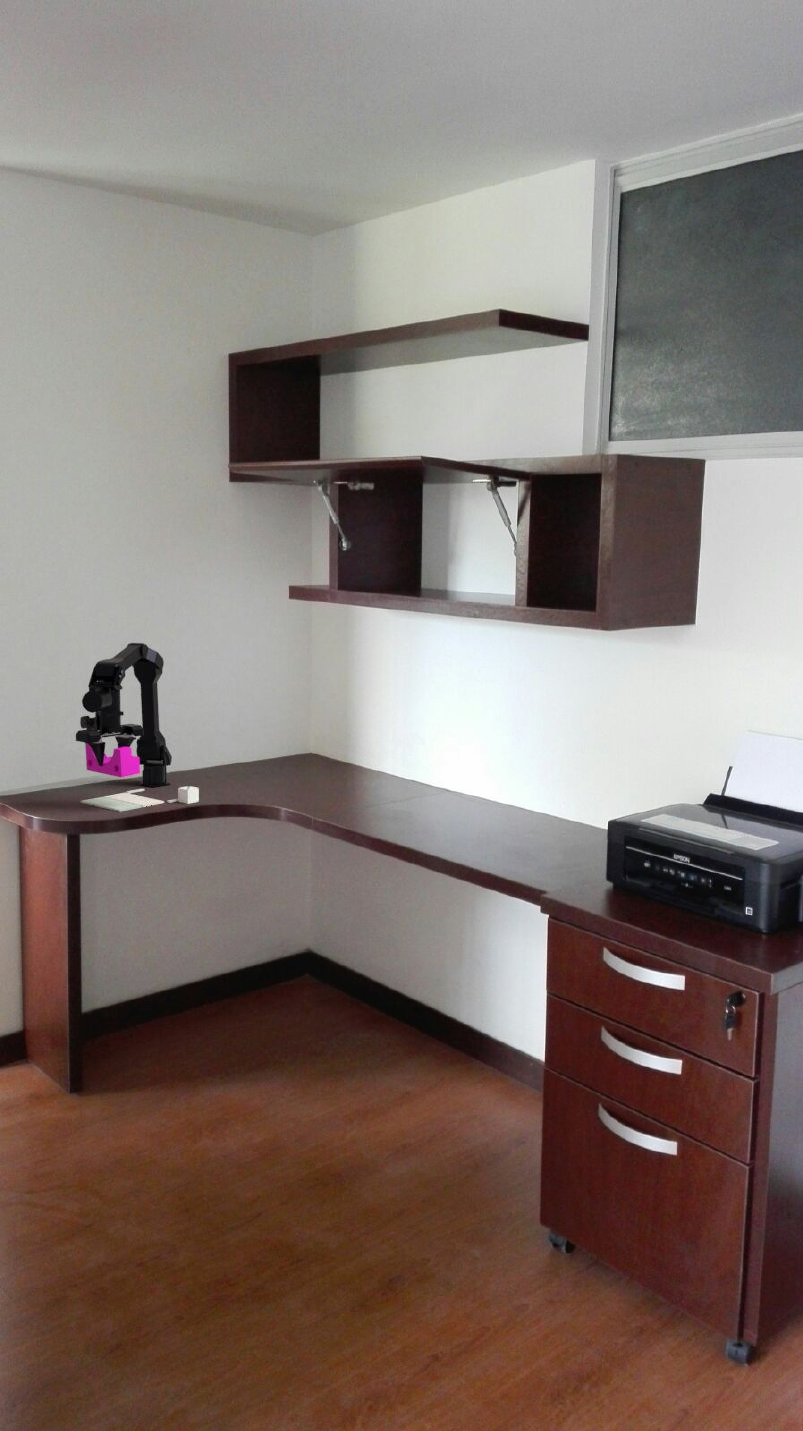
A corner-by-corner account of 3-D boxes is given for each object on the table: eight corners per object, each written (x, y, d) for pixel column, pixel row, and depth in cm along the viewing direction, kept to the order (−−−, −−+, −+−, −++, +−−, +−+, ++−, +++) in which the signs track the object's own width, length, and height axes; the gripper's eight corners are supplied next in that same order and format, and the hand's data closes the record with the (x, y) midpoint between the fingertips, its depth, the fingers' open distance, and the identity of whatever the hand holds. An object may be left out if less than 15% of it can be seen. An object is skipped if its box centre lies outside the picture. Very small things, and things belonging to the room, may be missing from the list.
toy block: (140, 773, 321) (138, 746, 320) (121, 777, 316) (120, 750, 315) (105, 765, 330) (103, 739, 329) (86, 770, 325) (85, 743, 324)
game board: (142, 790, 345) (142, 788, 345) (186, 799, 334) (186, 797, 333) (78, 802, 328) (78, 800, 328) (122, 812, 316) (122, 810, 316)
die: (189, 799, 334) (189, 785, 333) (198, 802, 331) (198, 787, 331) (178, 802, 331) (178, 787, 330) (187, 804, 328) (187, 789, 328)
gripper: (118, 701, 333) (119, 756, 336) (62, 708, 319) (63, 765, 321) (144, 705, 327) (145, 761, 329) (88, 712, 312) (89, 770, 314)
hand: (110, 764), depth 323 cm, fingers closed on toy block, 6 cm apart
